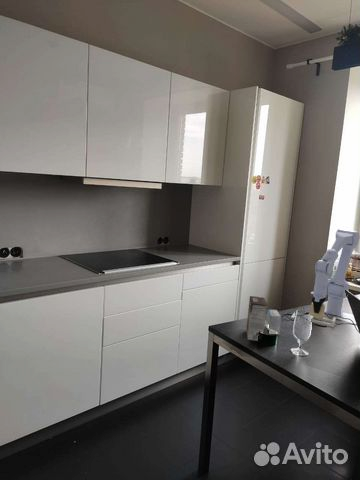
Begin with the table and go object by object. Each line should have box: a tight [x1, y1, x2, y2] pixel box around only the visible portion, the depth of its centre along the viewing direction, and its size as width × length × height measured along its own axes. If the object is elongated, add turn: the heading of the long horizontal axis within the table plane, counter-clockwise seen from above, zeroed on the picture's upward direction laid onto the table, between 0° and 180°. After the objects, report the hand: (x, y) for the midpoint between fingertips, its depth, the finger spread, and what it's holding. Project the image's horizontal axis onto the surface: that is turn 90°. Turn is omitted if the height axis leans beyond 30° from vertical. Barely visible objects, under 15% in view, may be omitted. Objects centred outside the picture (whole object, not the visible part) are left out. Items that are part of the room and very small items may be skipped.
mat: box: [290, 311, 312, 319], centre depth 178 cm, size 9×9×1 cm
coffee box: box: [245, 295, 268, 342], centre depth 151 cm, size 9×6×16 cm
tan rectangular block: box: [309, 301, 326, 318], centre depth 174 cm, size 3×6×6 cm, turn 60°
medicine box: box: [265, 309, 282, 336], centre depth 158 cm, size 8×4×9 cm, turn 179°
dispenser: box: [310, 316, 337, 328], centre depth 173 cm, size 7×11×3 cm, turn 60°
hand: (317, 311), depth 174 cm, fingers closed on tan rectangular block, 3 cm apart
